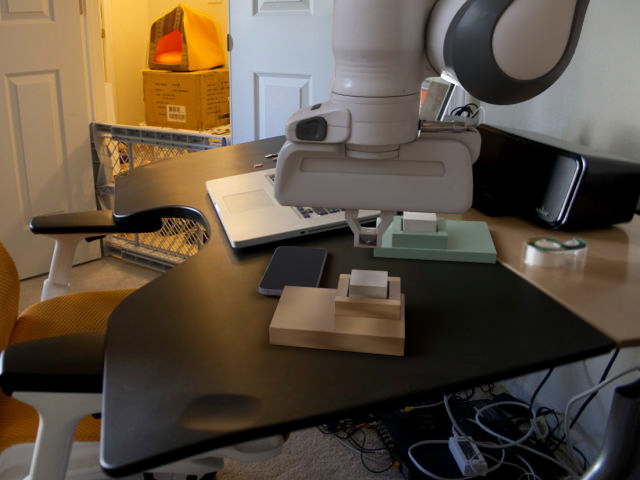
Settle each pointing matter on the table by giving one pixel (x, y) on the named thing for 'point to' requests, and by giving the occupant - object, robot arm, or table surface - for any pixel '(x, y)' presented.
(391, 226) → the tiered green tray
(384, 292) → the key front
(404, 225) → the key back
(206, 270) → the table surface
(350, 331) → the wooden platform
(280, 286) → the smartphone
